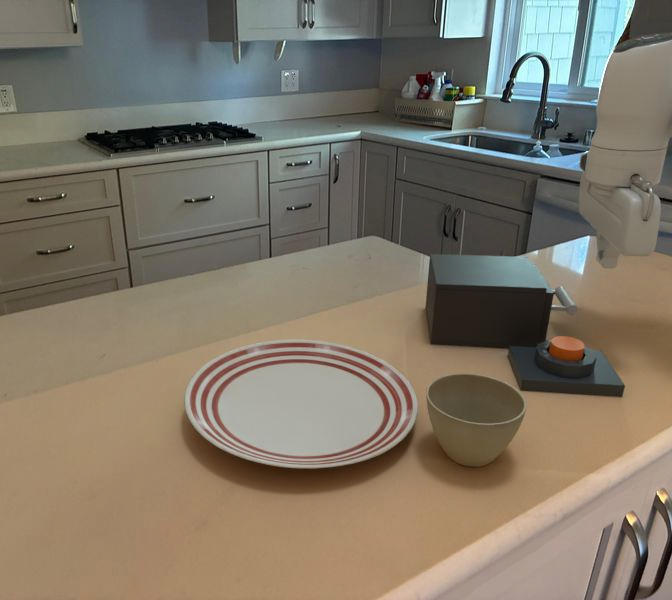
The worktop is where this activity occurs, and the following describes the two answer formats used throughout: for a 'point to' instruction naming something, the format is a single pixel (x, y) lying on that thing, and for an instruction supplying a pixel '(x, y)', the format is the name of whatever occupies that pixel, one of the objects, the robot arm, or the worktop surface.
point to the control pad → (564, 372)
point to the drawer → (564, 299)
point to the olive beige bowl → (474, 416)
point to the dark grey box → (483, 301)
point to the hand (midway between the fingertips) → (605, 265)
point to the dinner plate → (301, 404)
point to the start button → (566, 348)
